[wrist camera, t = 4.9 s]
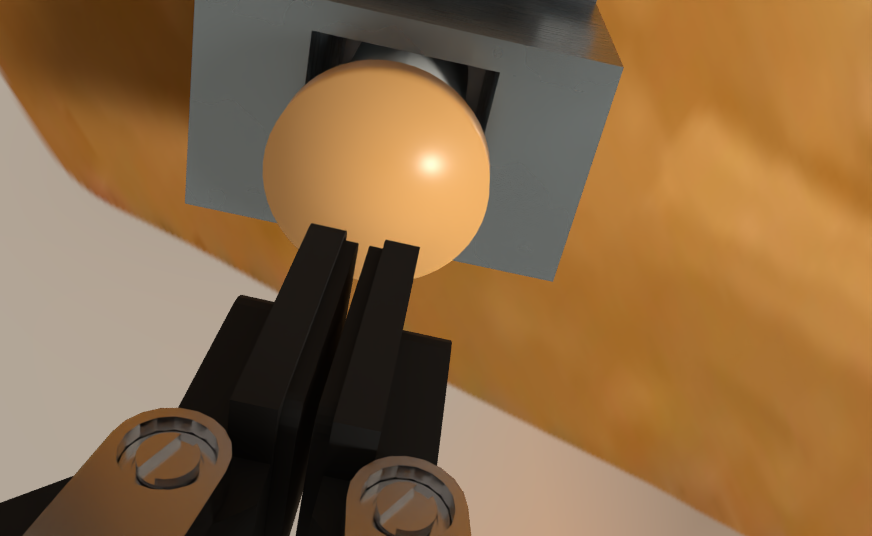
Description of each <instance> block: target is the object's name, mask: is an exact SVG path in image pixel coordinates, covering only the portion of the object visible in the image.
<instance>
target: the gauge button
mask: <svg viewBox="0 0 872 536" xmlns="http://www.w3.org/2000/svg"><path fill="white" fill-rule="evenodd" d="M467 84H468V66H467V65H464V64H460V63H456V62H451V61H447V60H442V59H438V58H433V57H429V56H424V55H420V54H415V53H411V52H406V51H402V50H397V49H393V48H388V47H384V46H379V45H375V44H371V43H366V42H361V44H360V46H359V48H358V49H357V51H356V53H355V55H354V57H353V58H352V60H351V62H350V63H346V64H342V65H339V66H336V67H334V68H331V69H329V70H327V71H325V72H323V73H321V74H320V75H318V76H316V77H314V78H313V79H312V80H311V81H309V82H308V83H307V84H305V85H304V86H303V87H302V88H301V89H300V90H299V91H298V92H297V93H296V94H295V96H294V97H293V98H292V100H291V101H290V103H289V104H288V105H287V107H286V108H285V110H284V111H283V113H282V114H281V116H280V117H279V119H278V120H277V122H276V123H275V125H274V127H273V129H272V131H271V133H270V135H269V138H268V141H267V144H266V147H265V153H264V158H263V183H264V190H265V194H266V198H267V202H268V204H269V207H270V209H271V212H272V214H273V216H274V218H275V220H276V221H277V223H278V225H279V227H280V228H281V229H282V231H283V232H284V234H285V235H286V236H287V238H288V239H289V240H290V241H291V242H292V243H293V244H294V245H295V246H296V247H297V248H298V249H299V248H300V245H301V243H302V241H303V239H304V237H305V235H306V232H307V230H308V228H309V226H310V224H311V223H314V224H318V225H323V226H327V227H332V228H336V229H341V230H345V231H347V239H346V240H347V241H351V242H356V243H359V246H358V253H357V259H356V264H355V270H354V276H353V279H357V280H359V277H360V274H361V271H362V267H363V264H364V261H365V258H366V255H367V252H368V248H369V246H374V247H378V248H383V246H384V242H385V240H391V241H395V242H400V243H404V244H409V245H413V246H418V247H420V250H419V255H418V260H417V265H416V269H415V274H414V279H415V278H418V277H421V276H424V275H427V274H429V273H431V272H434V271H436V270H438V269H440V268H441V267H443V266H444V265H446V264H448V263H449V262H451V261H452V260H453V259H454V258H455V257H457V256H458V255H459V254H460V253H461V252H462V251H463V250H464V249H465V248H466V247H467V246H468V245H469V243H470V242H471V240H472V239H473V238H474V236H475V235H476V233H477V231H478V229H479V227H480V225H481V223H482V221H483V218H484V215H485V212H486V209H487V204H488V199H489V184H490V158H489V150H488V145H487V141H486V137H485V135H484V132H483V130H482V127H481V125H480V123H479V121H478V119H477V118H476V116H475V114H474V112H473V111H472V109H471V108H470V107H469V106H468V104H467V103H466V93H467Z"/></svg>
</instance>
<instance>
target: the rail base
mask: <svg viewBox="0 0 872 536" xmlns="http://www.w3.org/2000/svg"><path fill="white" fill-rule="evenodd" d="M596 1H597V0H195V6H194V27H193V48H192V68H191V89H190V110H189V131H188V152H187V173H186V194H185V203H186V204H190V205H195V206H200V207H204V208H209V209H214V210H219V211H223V212H228V213H233V214H237V215H242V216H247V217H251V218H256V219H261V220H266V221H270V222H275V223H277V221H276V220H275V218H274V216H273V214H272V212H271V209H270V207H269V204H268V202H267V198H266V194H265V190H264V183H263V158H264V153H265V147H266V144H267V141H268V138H269V135H270V133H271V131H272V129H273V127H274V125H275V123H276V122H277V120H278V119H279V117H280V116H281V114H282V113H283V111H284V110H285V108H286V107H287V105H288V104H289V103H290V101H291V100H292V98H293V97H294V96H295V94H296V93H297V92H298V91H299V90H300V89H301V88H302V87H303V86H304V85H305V84H307V83H308V82H309V81H311V80H312V79H313V78H314V77H316V76H318V75H320V74H321V73H323V72H325V71H327V70H329V69H331V68H334V67H336V66H339V65H342V64H346V63H350V62H351V60H352V58H353V57H354V55H355V53H356V51H357V49H358V48H359V46H360V44H361V42H366V43H371V44H375V45H379V46H384V47H388V48H393V49H397V50H402V51H406V52H411V53H415V54H420V55H424V56H429V57H433V58H438V59H442V60H447V61H451V62H456V63H460V64H464V65H467V66H468V84H467V93H466V103H467V104H468V106H469V107H470V108H471V109H472V111H473V112H474V114H475V116H476V118H477V119H478V121H479V123H480V125H481V127H482V130H483V132H484V135H485V137H486V141H487V145H488V150H489V158H490V184H489V199H488V204H487V209H486V212H485V215H484V218H483V221H482V223H481V225H480V227H479V229H478V231H477V233H476V235H475V236H474V238H473V239H472V240H471V242H470V243H469V245H468V246H467V247H466V248H465V249H464V250H463V251H462V252H461V253H460V254H459V255H458V256H457V257H455V258H454V259H453V260H454V261H458V262H463V263H468V264H472V265H477V266H482V267H487V268H491V269H496V270H501V271H505V272H510V273H515V274H519V275H524V276H529V277H534V278H538V279H543V280H548V281H552V282H553V279H554V276H555V273H556V270H557V267H558V264H559V261H560V258H561V255H562V252H563V249H564V246H565V243H566V240H567V237H568V234H569V231H570V228H571V225H572V222H573V219H574V216H575V213H576V210H577V207H578V204H579V201H580V198H581V195H582V192H583V189H584V186H585V183H586V180H587V177H588V174H589V170H590V167H591V164H592V161H593V158H594V155H595V152H596V149H597V146H598V143H599V140H600V137H601V134H602V131H603V128H604V125H605V122H606V119H607V116H608V113H609V110H610V107H611V104H612V101H613V98H614V95H615V92H616V89H617V86H618V83H619V80H620V77H621V74H622V71H623V68H624V67H623V65H622V62H621V60H620V58H619V56H618V53H617V51H616V49H615V46H614V44H613V42H612V39H611V37H610V35H609V32H608V30H607V28H606V26H605V23H604V21H603V19H602V16H601V14H600V12H599V9H598V7H597V5H596Z"/></svg>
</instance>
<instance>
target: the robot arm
mask: <svg viewBox="0 0 872 536" xmlns="http://www.w3.org/2000/svg"><path fill="white" fill-rule="evenodd" d="M346 239H347V231H345V230H341V229H336V228H332V227H327V226H323V225H318V224H314V223H311V224H310V226H309V228H308V230H307V232H306V235H305V237H304V239H303V241H302V243H301V245H300V248H299V250H298V252H297V254H296V256H295V259H294V261H293V263H292V265H291V267H290V269H289V272H288V274H287V276H286V278H285V280H284V283H283V285H282V287H281V289H280V291H279V294H278V296H277V298H276V300H275V302H271V301H267V300H262V299H258V298H253V297H248V296H244V295H240V296H238V298H237V299H236V300H235V302H234V304H233V306H232V307H231V309H230V311H229V313H228V315H227V317H226V319H225V321H224V323H223V324H222V326H221V328H220V330H219V332H218V334H217V336H216V338H215V339H214V341H213V343H212V345H211V347H210V349H209V351H208V353H207V355H206V356H205V358H204V360H203V362H202V364H201V366H200V368H199V369H198V371H197V373H196V375H195V377H194V379H193V381H192V383H191V385H190V386H189V388H188V390H187V392H186V394H185V396H184V398H183V400H182V401H181V403H180V405H179V407H178V408H159V409H155V410H151V411H146V412H142V413H140V414H138V415H136V416H134V417H132V418H129V419H127V420H125V421H124V422H123V423H122V424H120V425H119V426H118V427H117V428H116V429H115V430H113V431H112V432H111V433H110V435H109V436H108V437H107V438H106V439H105V441H104V442H103V443H102V444H101V445H100V446H99V447H98V448H97V450H96V451H95V452H94V453H93V455H91V457H90V458H89V459H88V460H87V461H86V463H85V464H84V465H83V466H82V467H81V468H80V469H79V471H78V472H77V473H76V474H75V475H74V476H72V477H69V478H66V479H64V480H61V481H58V482H56V483H53V484H50V485H48V486H45V487H42V488H39V489H37V490H34V491H31V492H29V493H26V494H23V495H20V496H18V497H15V498H12V499H10V500H7V501H4V502H2V503H0V536H289V535H290V532H291V529H292V526H293V522H294V519H295V516H296V512H297V509H298V505H299V502H300V499H301V496H302V500H301V506H300V513H299V519H298V525H297V531H296V536H471V530H470V521H469V512H468V506H467V502H466V499H465V496H464V493H463V491H462V490H461V488H460V487H459V485H458V484H457V482H456V481H455V479H454V478H452V477H451V476H450V475H449V474H448V473H446V472H445V471H444V470H443V469H442V468H440V467H438V466H437V461H438V453H439V445H440V437H441V429H442V420H443V412H444V404H445V396H446V388H447V380H448V371H449V363H450V355H451V345H452V342H451V340H446V339H441V338H437V337H432V336H428V335H423V334H419V333H414V332H409V331H405V330H403V326H404V321H405V317H406V312H407V307H408V302H409V298H410V293H411V288H412V284H413V279H414V274H415V269H416V265H417V260H418V255H419V250H420V247H418V246H413V245H409V244H404V243H400V242H395V241H391V240H385V242H384V246H383V248H378V247H374V246H369V248H368V252H367V255H366V258H365V261H364V264H363V267H362V271H361V274H360V277H359V280H358V283H357V286H356V290H355V293H354V296H353V299H352V302H351V305H350V309H349V312H348V315H347V310H348V304H349V299H350V293H351V287H352V281H353V276H354V270H355V264H356V259H357V253H358V246H359V243H356V242H351V241H347V240H346ZM346 316H347V318H346ZM302 492H303V494H302Z"/></svg>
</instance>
